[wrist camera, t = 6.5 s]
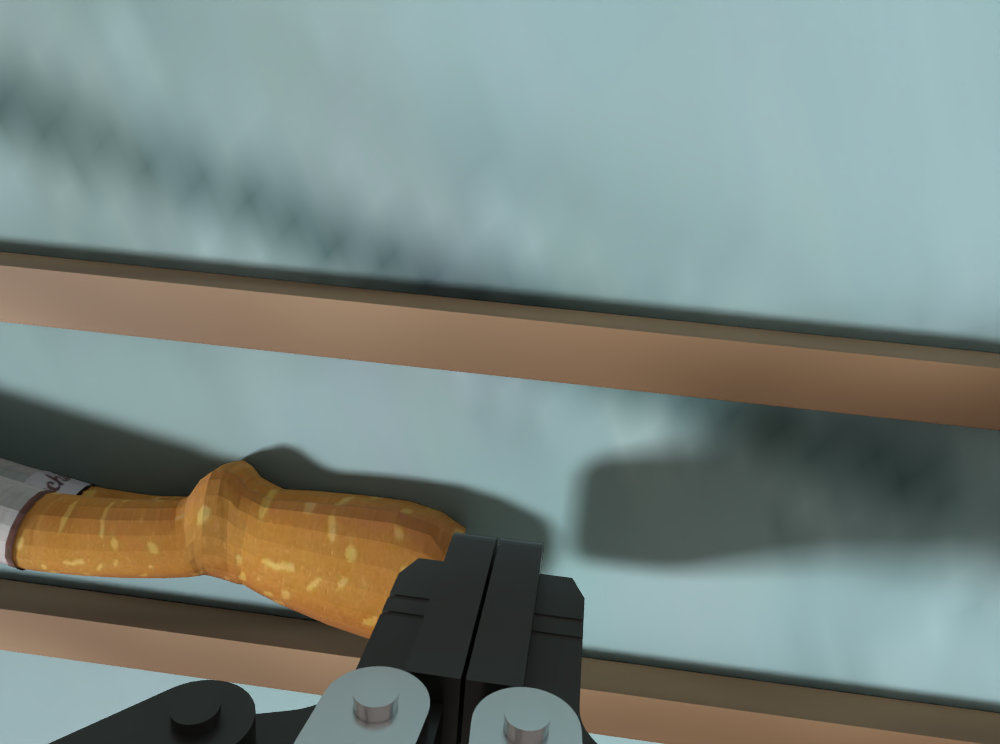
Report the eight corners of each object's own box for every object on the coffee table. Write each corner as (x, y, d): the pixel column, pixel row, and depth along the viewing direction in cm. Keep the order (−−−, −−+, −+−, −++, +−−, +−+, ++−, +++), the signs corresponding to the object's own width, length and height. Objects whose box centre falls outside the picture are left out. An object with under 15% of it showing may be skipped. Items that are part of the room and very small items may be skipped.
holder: (-754, 175, 16) (-1362, 211, 11) (1158, 370, 13) (1497, 535, 8) (-600, 535, 18) (-1032, 695, 13) (1015, 759, 16) (1206, 1059, 11)
